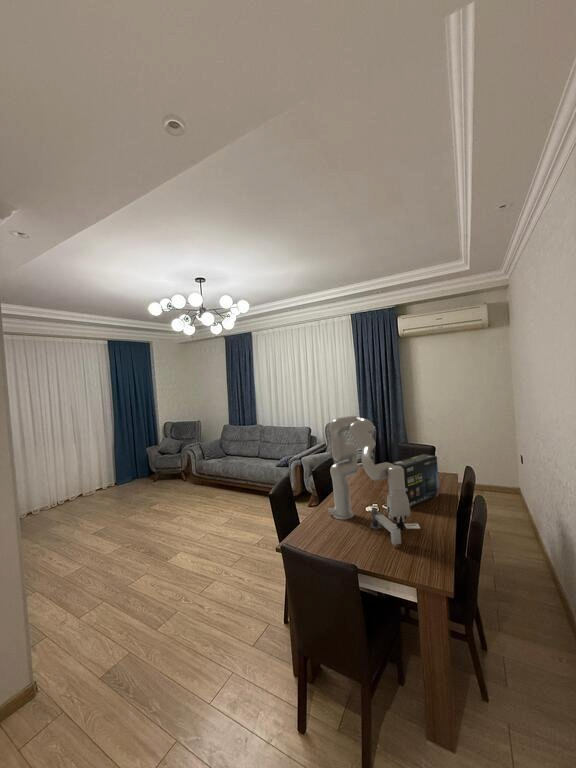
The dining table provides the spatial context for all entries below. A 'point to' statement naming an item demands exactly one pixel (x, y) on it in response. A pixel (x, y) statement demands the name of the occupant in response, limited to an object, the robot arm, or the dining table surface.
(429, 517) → the dining table surface
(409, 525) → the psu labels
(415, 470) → the router box
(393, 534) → the cable arm
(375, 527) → the post
